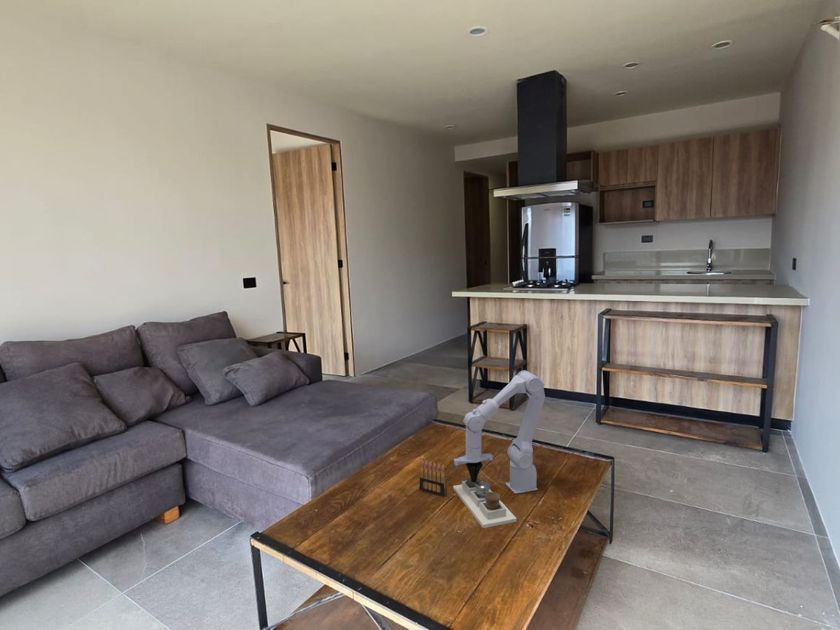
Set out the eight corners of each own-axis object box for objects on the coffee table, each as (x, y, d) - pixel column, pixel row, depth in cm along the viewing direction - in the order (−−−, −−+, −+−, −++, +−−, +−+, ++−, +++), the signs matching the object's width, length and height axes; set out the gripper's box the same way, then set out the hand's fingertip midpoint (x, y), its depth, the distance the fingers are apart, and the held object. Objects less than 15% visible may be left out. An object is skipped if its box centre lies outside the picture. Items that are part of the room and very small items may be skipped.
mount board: (482, 484, 179) (482, 474, 179) (516, 521, 154) (516, 511, 153) (453, 488, 176) (453, 479, 176) (482, 528, 150) (482, 517, 150)
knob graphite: (477, 485, 176) (477, 476, 175) (483, 492, 171) (483, 482, 170) (464, 488, 174) (464, 478, 174) (469, 494, 169) (469, 485, 169)
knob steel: (486, 490, 168) (486, 480, 167) (492, 497, 163) (492, 487, 162) (472, 492, 166) (472, 482, 166) (478, 499, 161) (478, 489, 161)
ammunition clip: (419, 490, 176) (418, 459, 174) (421, 488, 177) (421, 457, 176) (444, 497, 170) (444, 465, 169) (446, 494, 172) (446, 463, 170)
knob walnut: (496, 501, 160) (496, 491, 160) (503, 509, 155) (503, 498, 155) (482, 503, 159) (482, 493, 158) (488, 511, 154) (488, 501, 153)
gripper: (487, 438, 176) (486, 473, 178) (450, 443, 172) (451, 478, 174) (495, 446, 169) (495, 481, 171) (457, 451, 165) (458, 487, 167)
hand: (473, 480), depth 172 cm, fingers closed, pressing on knob graphite
